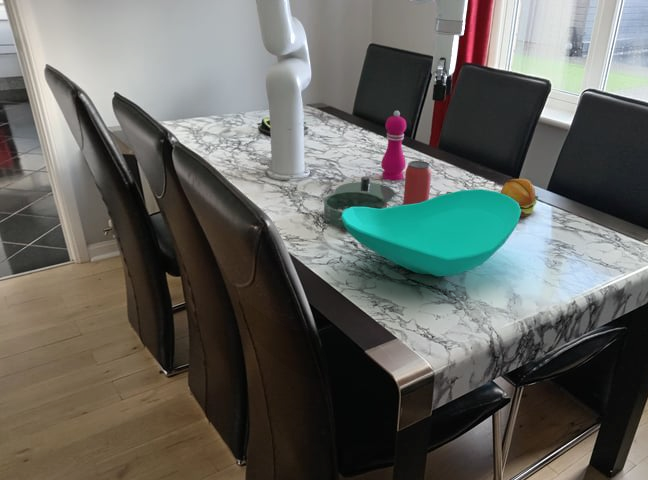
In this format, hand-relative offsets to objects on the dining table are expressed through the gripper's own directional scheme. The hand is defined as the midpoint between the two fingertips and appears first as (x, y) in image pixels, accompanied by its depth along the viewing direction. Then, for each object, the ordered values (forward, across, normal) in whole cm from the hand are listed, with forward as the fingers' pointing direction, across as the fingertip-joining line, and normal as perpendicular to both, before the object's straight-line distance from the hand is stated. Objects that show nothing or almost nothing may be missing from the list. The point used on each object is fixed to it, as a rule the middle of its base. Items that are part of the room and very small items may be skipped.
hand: (441, 97), depth 154 cm
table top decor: (+26, +49, +9) cm, 56 cm away
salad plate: (+27, -39, -64) cm, 79 cm away
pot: (+26, +30, -14) cm, 42 cm away
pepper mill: (+26, -4, -13) cm, 29 cm away
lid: (+25, +13, -16) cm, 33 cm away
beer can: (+26, +16, -1) cm, 31 cm away
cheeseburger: (+26, +9, +25) cm, 37 cm away
